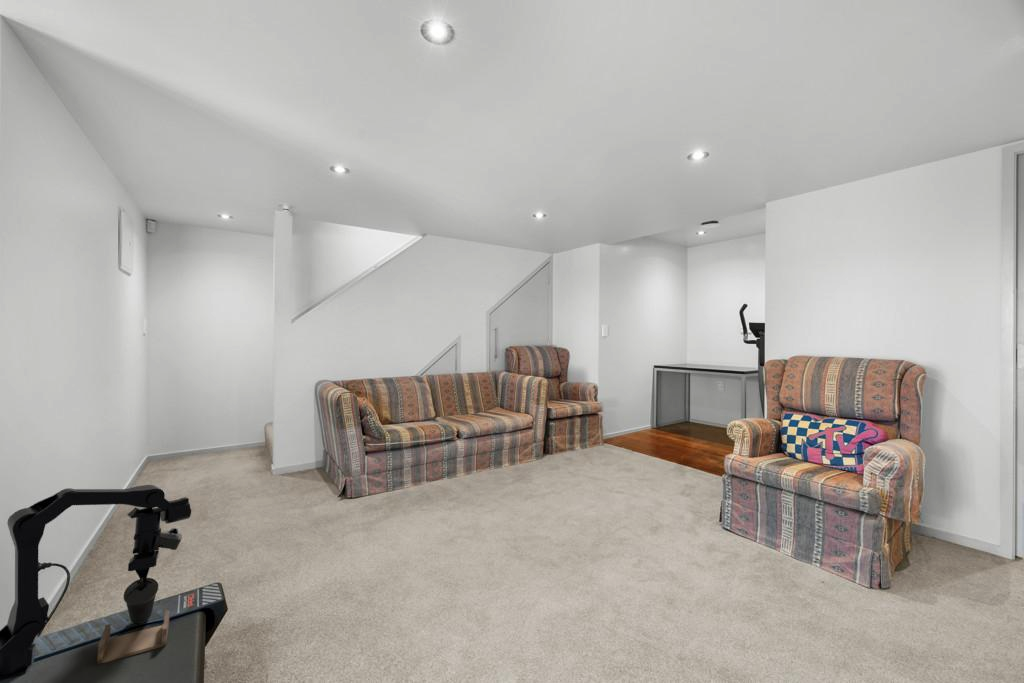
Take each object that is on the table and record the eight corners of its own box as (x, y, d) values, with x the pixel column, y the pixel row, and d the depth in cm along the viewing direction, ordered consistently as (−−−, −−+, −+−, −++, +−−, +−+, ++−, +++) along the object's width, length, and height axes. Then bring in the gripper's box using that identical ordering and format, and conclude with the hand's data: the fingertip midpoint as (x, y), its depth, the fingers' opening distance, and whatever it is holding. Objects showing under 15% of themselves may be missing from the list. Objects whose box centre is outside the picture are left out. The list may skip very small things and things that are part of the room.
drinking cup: (164, 608, 133) (165, 572, 125) (140, 633, 127) (140, 597, 118) (142, 598, 134) (142, 560, 125) (117, 622, 127) (115, 584, 118)
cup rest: (96, 664, 112) (98, 645, 112) (104, 642, 120) (105, 625, 120) (165, 645, 120) (167, 628, 120) (168, 626, 128) (169, 609, 128)
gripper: (179, 534, 128) (175, 587, 127) (182, 513, 143) (178, 561, 143) (129, 542, 121) (125, 598, 121) (138, 519, 137) (134, 569, 136)
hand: (143, 580), depth 130 cm, fingers closed
